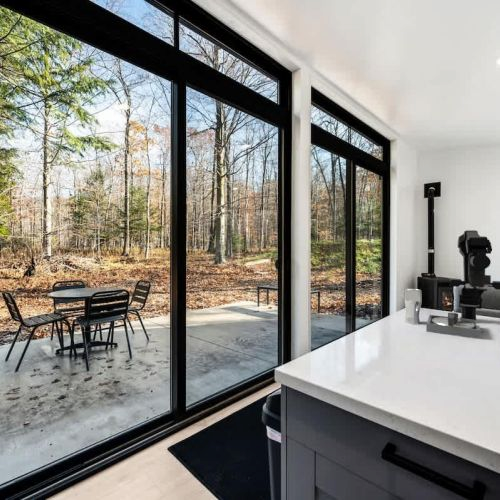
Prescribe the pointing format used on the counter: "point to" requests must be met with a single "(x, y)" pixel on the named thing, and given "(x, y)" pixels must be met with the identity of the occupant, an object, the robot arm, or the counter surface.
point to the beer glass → (412, 305)
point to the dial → (453, 321)
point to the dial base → (453, 328)
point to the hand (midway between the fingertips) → (475, 304)
